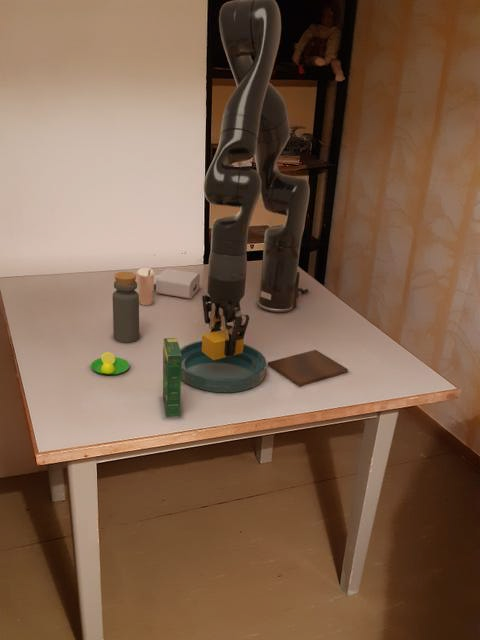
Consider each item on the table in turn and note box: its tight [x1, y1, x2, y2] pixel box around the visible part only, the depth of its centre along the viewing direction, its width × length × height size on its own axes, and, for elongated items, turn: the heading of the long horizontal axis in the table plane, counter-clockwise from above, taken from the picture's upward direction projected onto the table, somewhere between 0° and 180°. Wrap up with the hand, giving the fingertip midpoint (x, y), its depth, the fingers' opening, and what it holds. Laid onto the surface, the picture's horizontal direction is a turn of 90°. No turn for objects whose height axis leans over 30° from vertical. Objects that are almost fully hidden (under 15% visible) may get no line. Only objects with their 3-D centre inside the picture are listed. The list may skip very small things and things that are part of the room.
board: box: [267, 349, 349, 387], centre depth 148 cm, size 14×11×1 cm
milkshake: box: [136, 267, 156, 306], centre depth 170 cm, size 4×5×10 cm
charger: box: [154, 268, 201, 300], centre depth 181 cm, size 5×9×15 cm
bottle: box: [112, 271, 140, 344], centre depth 151 cm, size 6×6×15 cm
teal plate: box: [180, 340, 267, 393], centre depth 143 cm, size 19×19×3 cm
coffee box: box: [162, 337, 182, 419], centre depth 126 cm, size 8×3×13 cm, turn 10°
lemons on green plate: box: [90, 351, 130, 375], centre depth 141 cm, size 8×8×3 cm
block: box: [201, 329, 245, 360], centre depth 141 cm, size 8×5×4 cm, turn 125°
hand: (222, 349), depth 141 cm, fingers closed on block, 4 cm apart
